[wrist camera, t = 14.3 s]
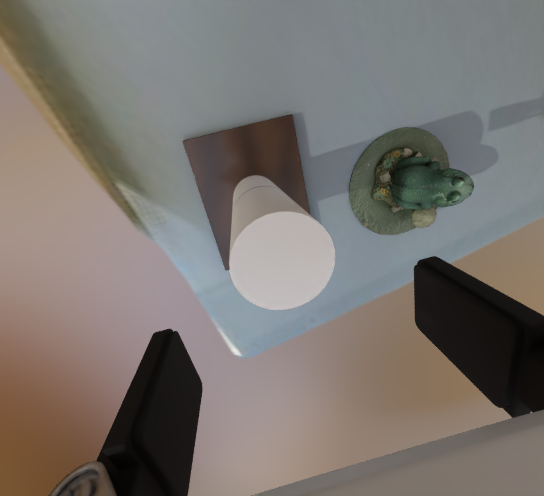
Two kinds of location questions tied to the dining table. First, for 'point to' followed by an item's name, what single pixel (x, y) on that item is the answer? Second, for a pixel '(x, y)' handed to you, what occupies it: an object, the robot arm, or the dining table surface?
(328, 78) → the dining table surface
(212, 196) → the board
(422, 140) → the frog figurine
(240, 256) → the cylindrical container
